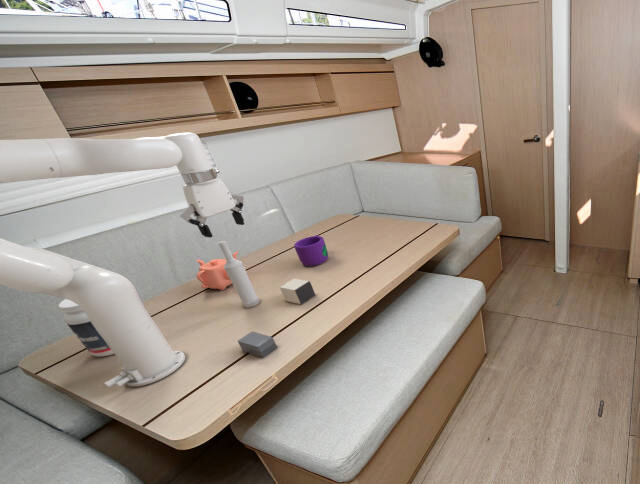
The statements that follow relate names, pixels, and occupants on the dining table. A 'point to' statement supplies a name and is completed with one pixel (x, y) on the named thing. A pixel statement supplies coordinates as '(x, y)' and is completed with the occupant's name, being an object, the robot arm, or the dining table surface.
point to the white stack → (300, 296)
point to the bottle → (239, 278)
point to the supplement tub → (84, 329)
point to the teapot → (214, 273)
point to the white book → (295, 286)
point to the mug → (311, 250)
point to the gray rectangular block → (257, 344)
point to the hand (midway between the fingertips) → (225, 230)
